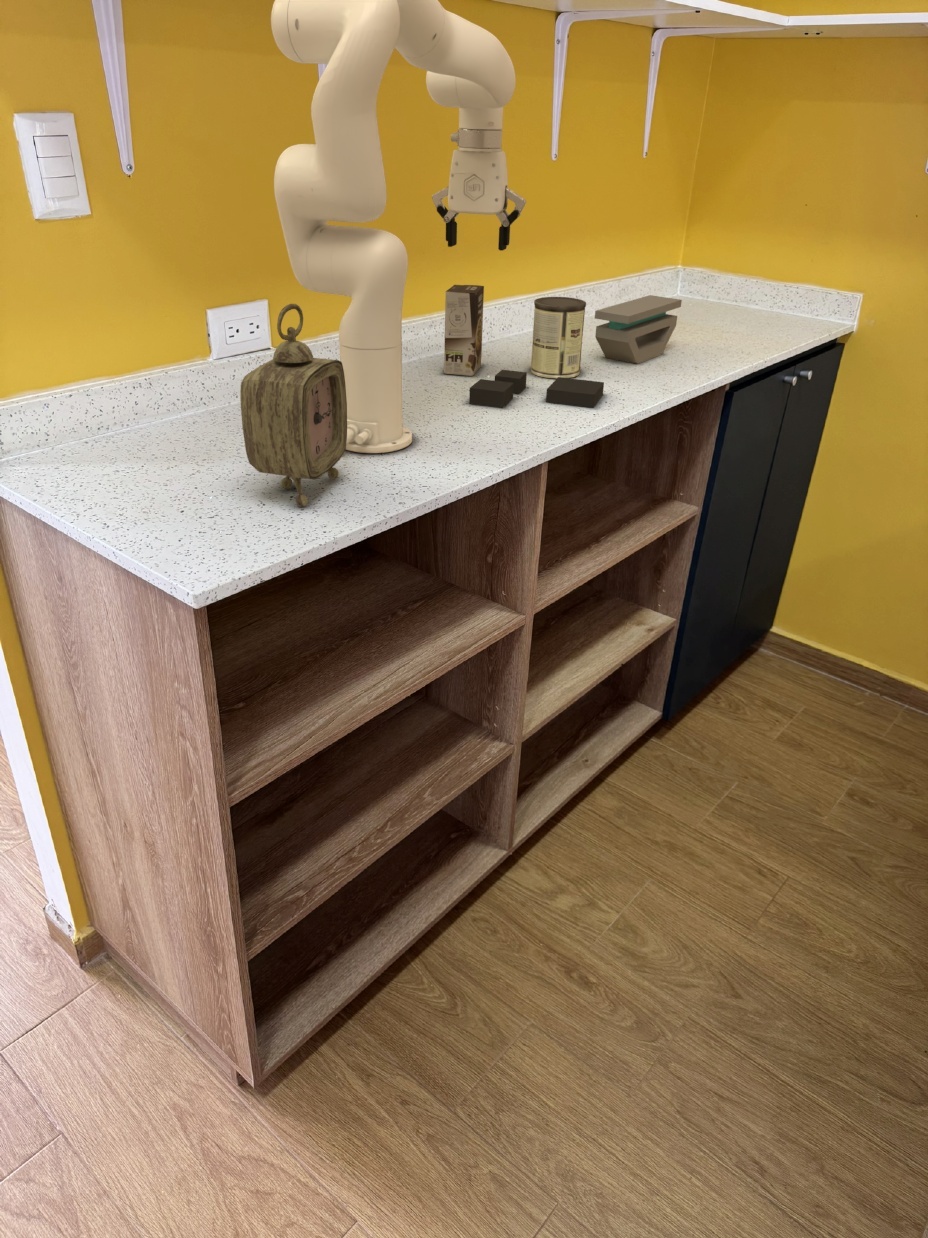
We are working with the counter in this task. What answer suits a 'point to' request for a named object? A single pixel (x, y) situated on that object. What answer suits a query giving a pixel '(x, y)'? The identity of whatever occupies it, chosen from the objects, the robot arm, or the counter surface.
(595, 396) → the large pad
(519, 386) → the small pad
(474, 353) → the coffee box
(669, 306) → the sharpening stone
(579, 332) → the coffee can
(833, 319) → the counter surface
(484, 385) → the medium pad
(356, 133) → the robot arm
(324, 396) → the tabletop clock
